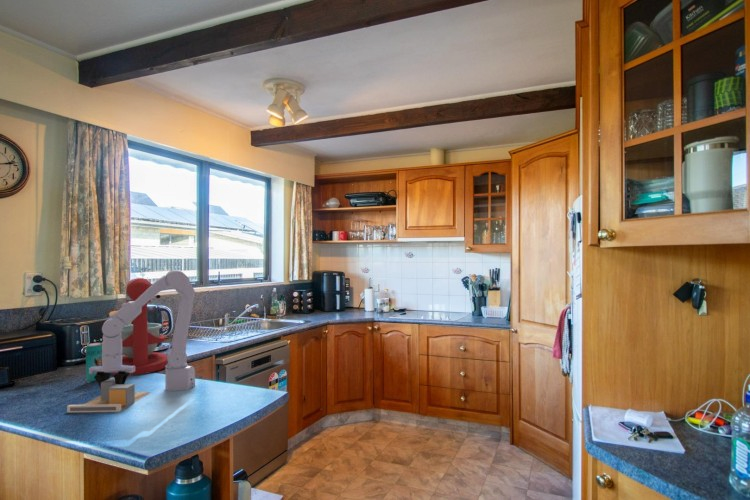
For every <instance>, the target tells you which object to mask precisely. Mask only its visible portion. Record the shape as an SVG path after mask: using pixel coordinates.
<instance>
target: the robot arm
mask: <svg viewBox="0 0 750 500" xmlns="http://www.w3.org/2000/svg"><path fill="white" fill-rule="evenodd" d="M151 284H152V285H151V286H150V287H149V288H148V289H147V290H146V291H145V292H144V293H143V294H142V295H141V296H140V297H139V298H138V299H136V300H135V301H129V302H127V303H126V302H124V303H122V304H121V307H120V308H119V309H118V310H117V311H116V312H114V314H112V313H111V314H110V315H109V318H108V319H107V320H105V321H104V322H103V325H102V327H101V332H102V342H101V343H102V366H95V367H91V368H89V374H92V373H97V374H96V375H95V376H94V378H95V379H96V382H97V384H98V386H99V388H100V390H101V382H103V381H106V380H108V379H110V378H111V373H118V374H116V375H114V374H113V377H114V378H115V382H116V384H126V381H127V379H128V377H129V376H130V375H129V374H130V373H133V372H135V366H128V365H122V356H123V353H122V339H121V332H122V329H123V327H124V326H127V325H130V324H131V322H132V323H133V320H134V319H135V318H136V317H137V316H138V315H139V314H140V313H141V312H142V306H143V305H145V304H146V303H147V302H148V301H149V300H150V299H151V300H153V299H154V298H155V297H154V296H156V295H159V293H160V292H163V291H166V290H167V291H168V290H169V289H170V288H172V289H174V290H175V291H176V292H177V294H178V295H179V296H180V300H179V306H178V309H177V310H178V311H177V315H176V320H175V325H174V331H173V335H172V340H171V343H170V347H169V348H168V349H167V350H166V353H165V354H166V358H167V360H168V364H167V365H166V366H165V368H164V370H165V373H164V374H165V379H164V380H165V390H166V391H169V392H170V391H171V392H172V391H189V390H190V389H191V388H193V387H194V386H195V385H196V370H195V367H194V366H192V365H188V362H187V360H188V355H187V339H188V334H189V330H190V329H189V327H190V323H191V319H192V313H193V309H194V304H195V303H194V302H195V297H196V291H195V288H194V286H193V285H192V282H191V280H190V278H189V276H188V275H186V274H185V273H184V272H183V271H181V270H178V269H177V270H176V269H173V270H169V271H168V272H167V273H166V274H165V275H162V276H160V278H158V279H157V280H155V281H154V282H153V283H151ZM153 297H154V298H153ZM152 298H153V299H152ZM147 304H148V303H147ZM129 323H130V324H129ZM128 375H129V376H128Z"/></svg>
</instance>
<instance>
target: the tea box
mask: <svg viewBox="0 0 750 500" xmlns="http://www.w3.org/2000/svg"><path fill="white" fill-rule="evenodd" d="M114 385H116V382H115V378H114V376H113V377H110V378H109V379H108V380H106V381H103V382H101V389H100V396H101V401H108V388H110V387H112V386H114Z"/></svg>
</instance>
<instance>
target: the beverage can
mask: <svg viewBox="0 0 750 500" xmlns="http://www.w3.org/2000/svg"><path fill="white" fill-rule="evenodd" d="M95 366H102V342H92V343H88V344H86V348H85V381H86V382H87V383H88V384H89V383H92V382H95V381H96V379H95V378H94V376H95V375H96V374H97V373H92V374H89V368H91V367H95ZM96 382H97V381H96Z"/></svg>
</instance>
